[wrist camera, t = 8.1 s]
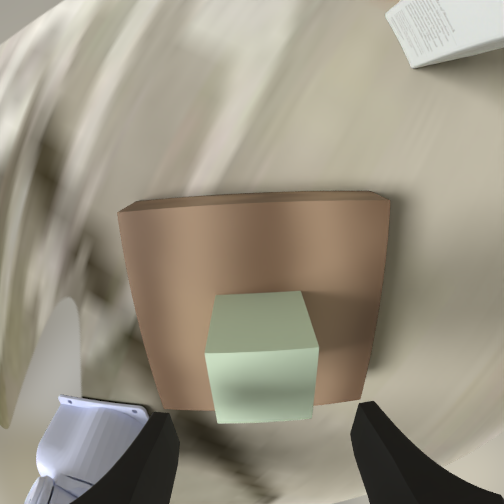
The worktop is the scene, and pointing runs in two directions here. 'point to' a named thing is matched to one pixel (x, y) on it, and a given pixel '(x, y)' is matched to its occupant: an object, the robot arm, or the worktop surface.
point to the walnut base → (256, 278)
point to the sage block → (261, 358)
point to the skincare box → (446, 28)
